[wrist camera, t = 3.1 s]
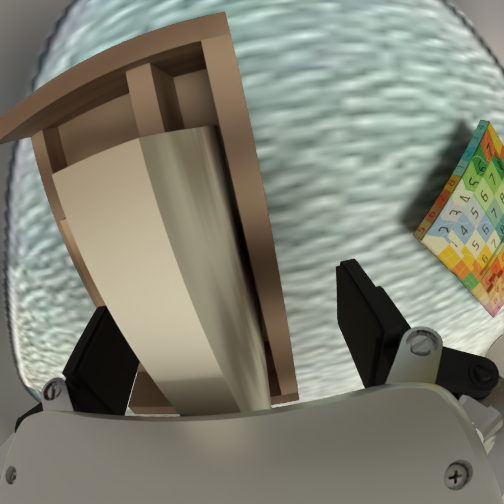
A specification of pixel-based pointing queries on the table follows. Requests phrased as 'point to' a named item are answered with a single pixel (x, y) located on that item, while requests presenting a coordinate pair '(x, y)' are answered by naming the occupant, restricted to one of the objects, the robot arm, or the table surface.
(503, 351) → the coffee cup
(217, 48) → the walnut rack
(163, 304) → the birch sheet
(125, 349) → the robot arm
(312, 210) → the table surface
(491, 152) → the puzzle game
